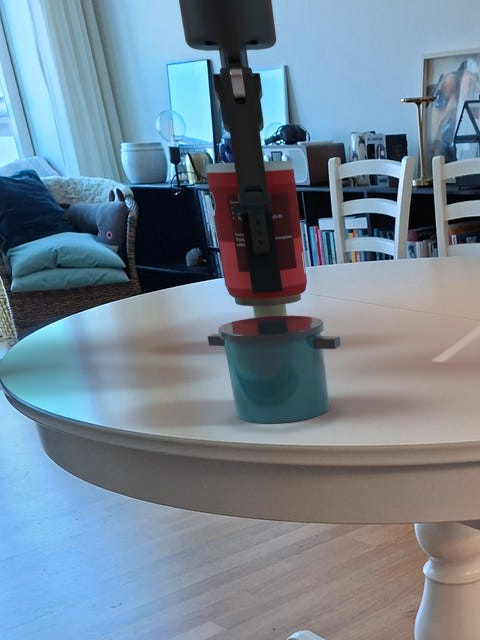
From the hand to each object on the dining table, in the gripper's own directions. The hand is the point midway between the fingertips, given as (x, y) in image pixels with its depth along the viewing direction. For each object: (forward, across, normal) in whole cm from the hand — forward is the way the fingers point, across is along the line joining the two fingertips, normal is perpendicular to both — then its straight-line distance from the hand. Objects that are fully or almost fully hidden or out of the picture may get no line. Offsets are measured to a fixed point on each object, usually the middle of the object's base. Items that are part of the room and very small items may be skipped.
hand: (266, 284), depth 83 cm
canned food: (+1, 0, 0) cm, 1 cm away
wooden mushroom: (+8, +14, 0) cm, 16 cm away
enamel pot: (+8, -14, 0) cm, 16 cm away
